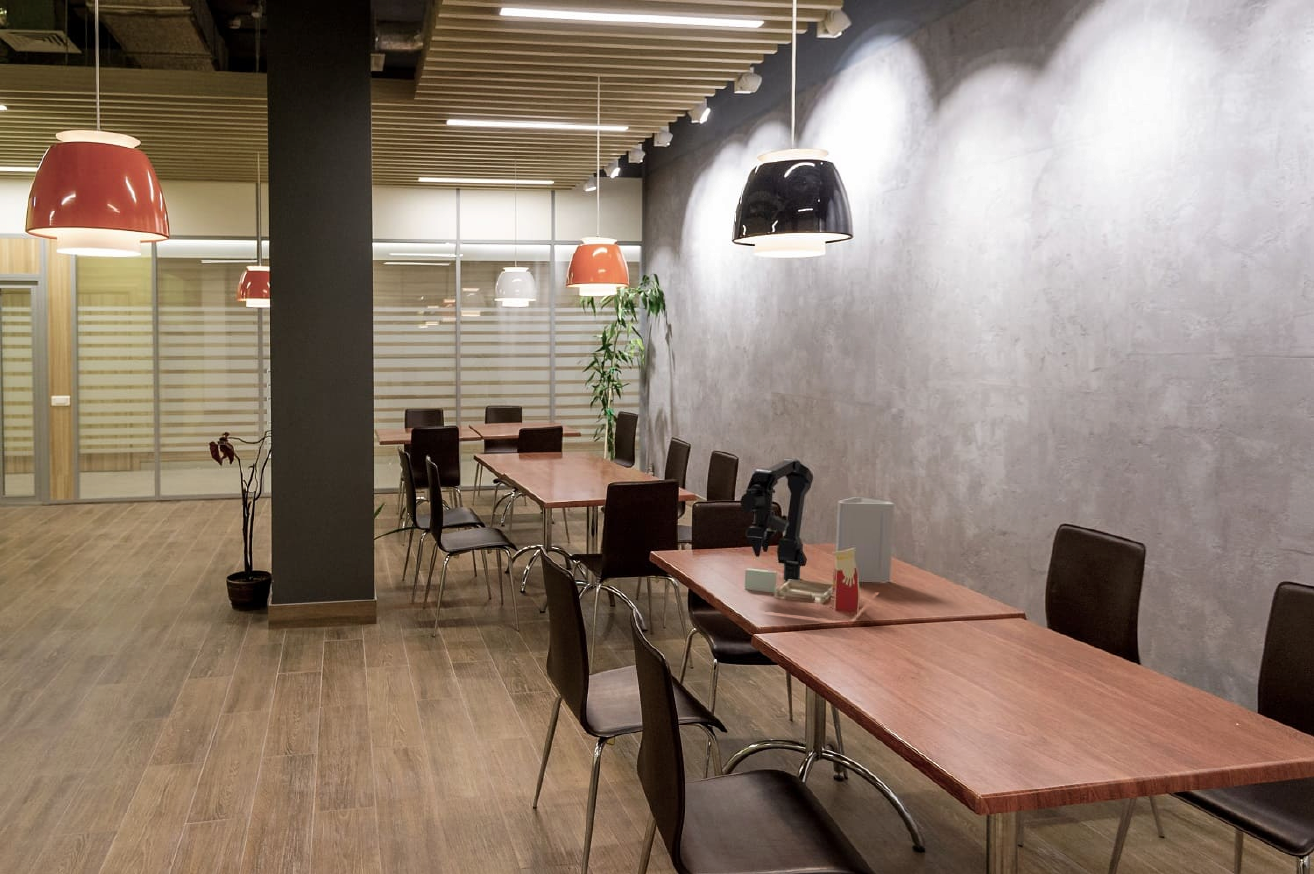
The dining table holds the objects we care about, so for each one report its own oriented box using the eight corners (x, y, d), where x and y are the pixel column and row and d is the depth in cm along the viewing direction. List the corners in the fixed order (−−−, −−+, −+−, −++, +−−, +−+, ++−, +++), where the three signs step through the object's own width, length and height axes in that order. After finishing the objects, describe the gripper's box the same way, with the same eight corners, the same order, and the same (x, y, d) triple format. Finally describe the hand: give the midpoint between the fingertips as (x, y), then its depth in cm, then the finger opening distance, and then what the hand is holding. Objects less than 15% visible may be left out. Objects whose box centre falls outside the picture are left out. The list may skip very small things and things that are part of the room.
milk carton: (857, 607, 335) (860, 545, 334) (859, 615, 326) (862, 550, 324) (828, 606, 336) (830, 543, 335) (829, 613, 327) (832, 549, 325)
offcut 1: (786, 593, 343) (787, 590, 343) (811, 595, 341) (811, 592, 341) (785, 595, 340) (785, 592, 339) (810, 598, 337) (810, 595, 337)
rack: (788, 589, 358) (788, 578, 358) (835, 594, 352) (835, 584, 352) (774, 600, 341) (774, 589, 341) (823, 606, 336) (823, 595, 335)
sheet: (746, 588, 354) (747, 568, 354) (775, 592, 351) (776, 571, 350) (744, 590, 352) (745, 569, 352) (773, 593, 348) (774, 572, 348)
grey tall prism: (879, 574, 387) (883, 498, 385) (890, 583, 373) (894, 504, 370) (827, 573, 386) (831, 496, 384) (837, 582, 371) (840, 503, 369)
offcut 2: (787, 596, 344) (788, 592, 344) (815, 599, 341) (815, 596, 340) (784, 598, 340) (784, 595, 340) (812, 601, 337) (812, 598, 337)
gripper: (779, 513, 338) (777, 561, 339) (794, 505, 355) (792, 551, 357) (746, 510, 342) (744, 558, 343) (762, 503, 359) (760, 548, 361)
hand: (761, 554), depth 351 cm, fingers open, 9 cm apart
